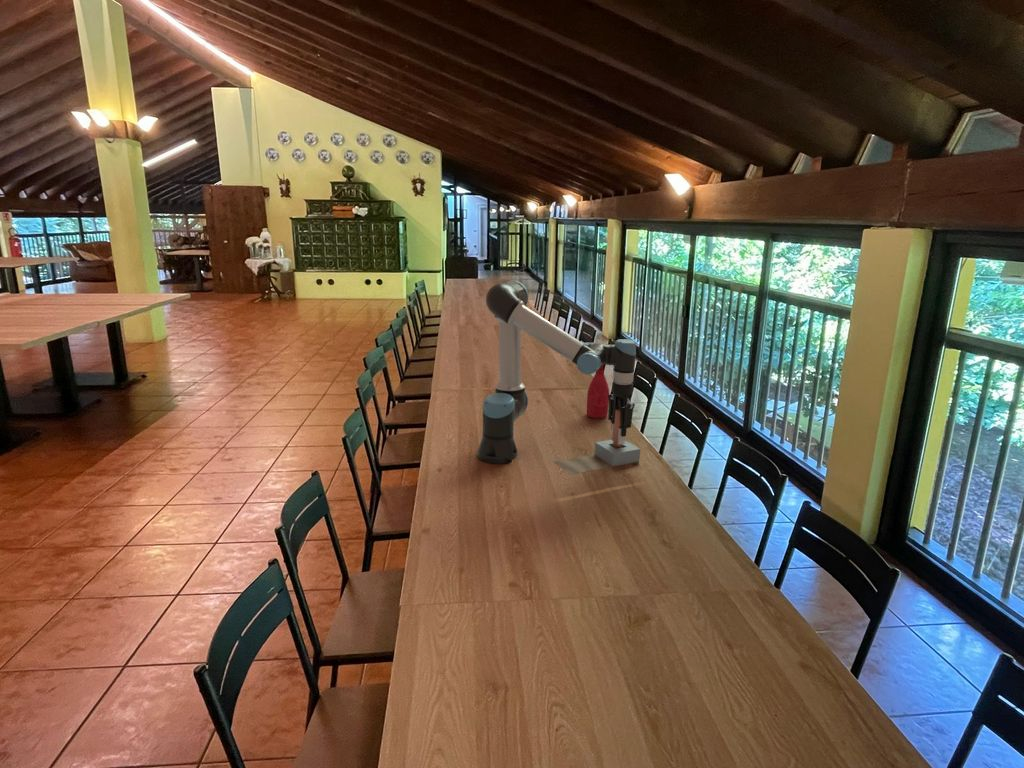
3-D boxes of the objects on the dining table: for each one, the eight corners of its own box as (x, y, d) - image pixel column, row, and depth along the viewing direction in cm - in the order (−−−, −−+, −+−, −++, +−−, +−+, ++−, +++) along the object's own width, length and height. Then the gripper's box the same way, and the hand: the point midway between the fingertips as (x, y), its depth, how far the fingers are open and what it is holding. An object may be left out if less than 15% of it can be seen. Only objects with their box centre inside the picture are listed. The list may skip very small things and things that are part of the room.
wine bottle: (590, 420, 277) (595, 355, 268) (582, 413, 286) (586, 350, 277) (611, 418, 279) (616, 354, 271) (602, 411, 288) (606, 349, 280)
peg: (616, 450, 230) (619, 412, 226) (610, 447, 233) (613, 409, 229) (624, 449, 231) (627, 411, 227) (618, 445, 235) (621, 408, 230)
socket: (612, 466, 226) (613, 453, 224) (594, 454, 236) (595, 442, 234) (639, 461, 231) (640, 448, 229) (620, 449, 241) (621, 437, 240)
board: (570, 477, 218) (570, 474, 218) (553, 464, 228) (553, 461, 228) (638, 463, 231) (639, 461, 231) (619, 452, 241) (620, 449, 241)
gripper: (645, 387, 219) (639, 448, 226) (617, 375, 234) (613, 433, 240) (628, 389, 216) (622, 451, 223) (601, 377, 230) (597, 435, 237)
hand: (617, 441), depth 231 cm, fingers closed on peg, 3 cm apart
